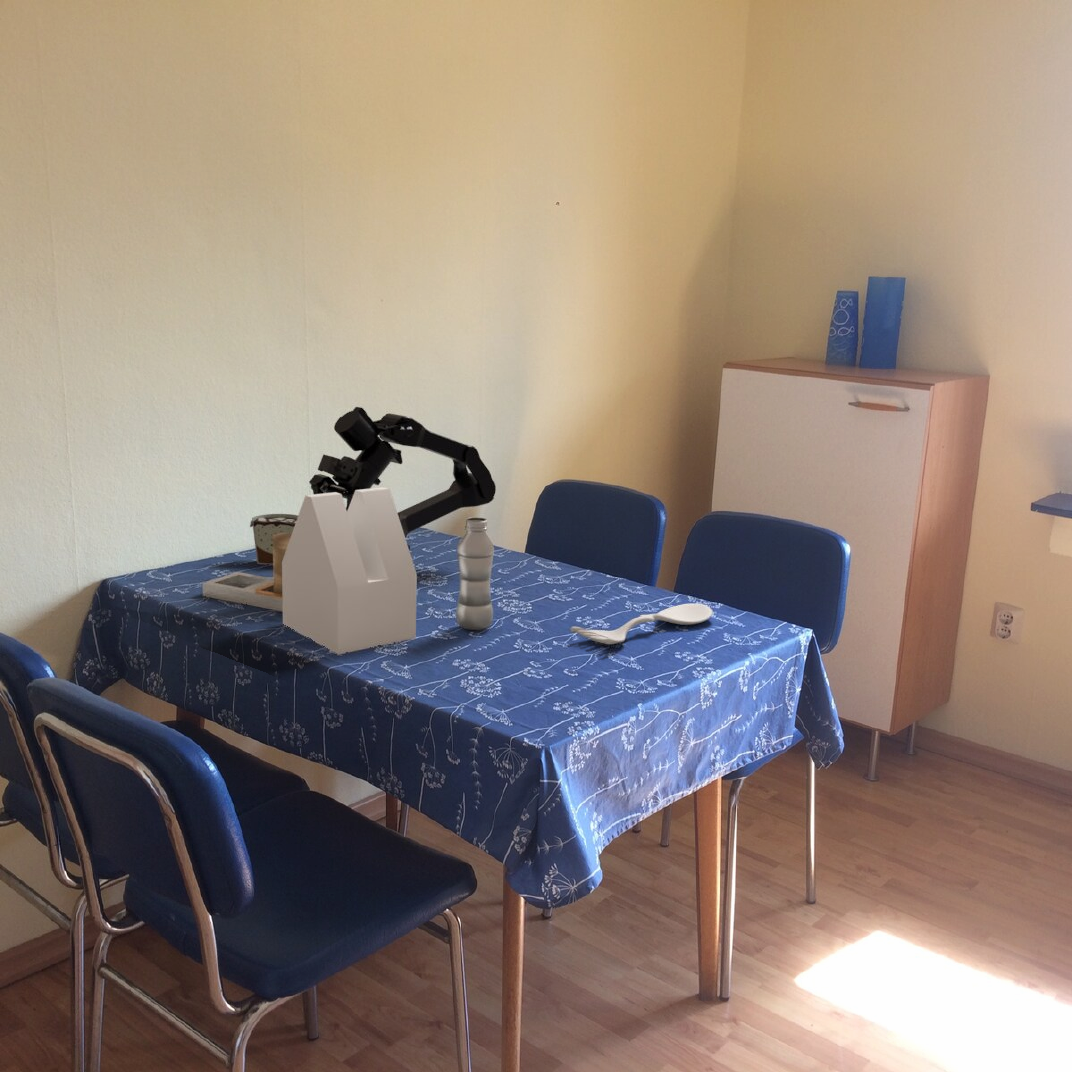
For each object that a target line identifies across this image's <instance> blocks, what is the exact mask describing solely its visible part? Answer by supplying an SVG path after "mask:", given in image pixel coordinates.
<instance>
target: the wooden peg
mask: <svg viewBox="0 0 1072 1072" xmlns="http://www.w3.org/2000/svg"><path fill="white" fill-rule="evenodd" d="M291 535H292V533H278V534H275V535H273V565H272V567H273V569H272V570H273V575H272V576H273V577H272V578H273V579H274V593H277V594H282V561H283V558H284V555H285V552H286V549H287V546H288V544H289V541H290V538H291Z"/></svg>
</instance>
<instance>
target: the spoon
mask: <svg viewBox="0 0 1072 1072" xmlns="http://www.w3.org/2000/svg"><path fill="white" fill-rule="evenodd" d="M713 614H714V611H713V609H712V608H711V607H710V606H707V605H705V604H702V603H682V604H679V605H674V606H671V607H668V608H666V609H663V610H660V611H659V612H658V611H657V613H651V614H640V615H639V617H635V618H632V619H630V620H629V621H628V622H626V623H624V624H623V625H622V626H620V627H618V628H617V629H614V630H600V629H586V628H583V627H579V626H572V627H570V631H571V632H572V633H576V634H577V635H580V636H582V638H585V639H588V640H590V641H593V642H596V643H599V644H604V645H605V644H606V645H614V644H621V643H622V642H624V641H625V640H626V637H627V634H628V632H630V630H631V629H632V628H633V627H635V626H637V625H639V624H643V623H644V624H645V623H652V622H653V623H654V621H655V620H658V621H664V622H668V623H671V624H675V625H682V626H688V625H689V626H691V625H696V624H700V623H702V622H705V621H707V620H708V619H710V618H711V617H712V616H713Z"/></svg>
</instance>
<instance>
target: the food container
mask: <svg viewBox="0 0 1072 1072" xmlns="http://www.w3.org/2000/svg"><path fill="white" fill-rule="evenodd" d="M298 515H299V514H298ZM298 515H296V514H290V513H267V514H260V515H256V516H253V517H252V518H251V520H250V524H249V528H252V531H253V539H254V547H255V554H256V563H257V565H267V564H269V565H270V566H271V565H272V566H273V535H275V534H278V533H292V532H293V529H294V526H295V524H296V521H297V518H298Z"/></svg>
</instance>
